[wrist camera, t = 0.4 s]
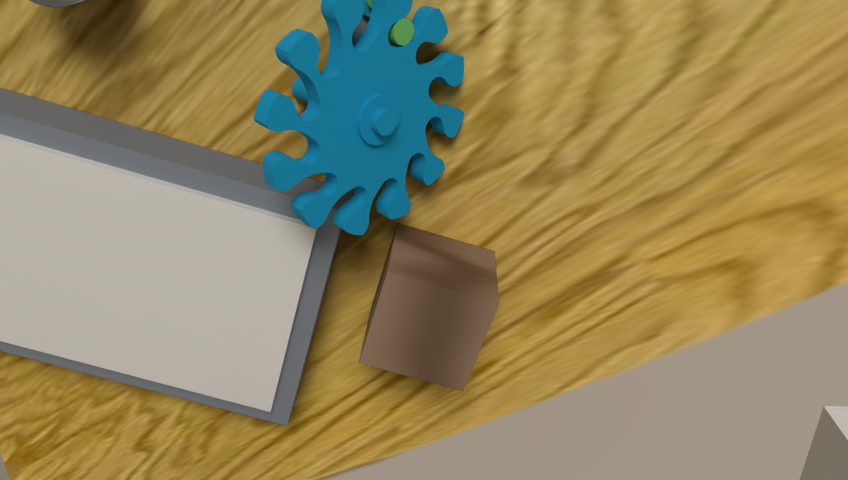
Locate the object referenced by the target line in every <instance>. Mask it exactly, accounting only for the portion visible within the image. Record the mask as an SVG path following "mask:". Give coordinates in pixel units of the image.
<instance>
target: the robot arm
mask: <svg viewBox="0 0 848 480" xmlns="http://www.w3.org/2000/svg"><path fill="white" fill-rule="evenodd" d="M0 480H10V479H9V477H8V474H7V471H6V468H5V465H4V463H3V460H2V457H1V454H0ZM800 480H848V407H835V406H824V407H823V410H822V413H821V416H820V419H819V423H818V425H817V428H816V431H815V435H814V438H813V441H812V444H811V447H810V450H809V453H808V456H807V459H806V462H805V465H804V468H803V471H802V475H801V478H800Z"/></svg>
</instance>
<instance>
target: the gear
mask: <svg viewBox="0 0 848 480" xmlns="http://www.w3.org/2000/svg"><path fill="white" fill-rule="evenodd" d="M411 6H412V0H322V3H321V11H322V14H323V17H324V18H325V20H326V23H327V26H328V29H329V35H330V50H329V57H328V62H327V65H326V68H325V69H324V70H323V71H322V72H321V73H319V72H318V58H319V51H320V48H319V43H318V40H317V38H316V37H315V36H314V35H313V34H312V33H309V32H306V31H303V30H300V29H296V30H293V31H291V32H290V33H289V34H287V35H286V36H285V37H284V38H283V39H282V40H281V41H280V42H279V43H278V44H277V45H276V47H275V52H276V55H277V57H278V59H279V60H280V61H281V62H282V63H284V64H286V65H288V66H290V67H291V68H292V69H293V70H295V72H296V73H297V74H298V75H299V76H300V77H299V78H298V79H296V81H295V82H294V84H293V94H294V96H295V97H296V98H298V99H300V100H302V101H305V102H307V103H308V106H307V108H306V110H305V111H304V112H303V113H302V114H301V115H299V116H298V114H297V110H296V107H295V105H294V103H293V101H292V100H291V99H290V98H289V97H287V96H285V95H282V94H280V93H278V92H276V91H273V90H265V92H264V93H263V94H262V96H261V98H260V100H259V102H258V105H257V108H256V111H255V115H254V120H255V121H256V122H257V123H259V124H260V125H262V126H264V127H266V128H268V129H270V130H272V131H275V132H280V131H285V130H296V131H299V132H300V133H302V134H303V135H304V136H305V137H306V138H307V140H308V149H307V152H306V153H305V155H304V156H303V157H301V158H300V159H297V160H295V159H293V158H291V157H289V156H287V155H285V154H283V153H282V152H279V151H272V152H269V153H267V154H266V155H265V156H264V159H263V173H264V178H265V183H266V184H268V185H269V186H271V187H273V188H274V189H276V190H278V191H287V190H289V189H291V188H292V187H293V186H294V185H296V184H297V183H298V182H299V181H301V180H302V179H304V178H306V177H308V176H310V175H313V174H318V173H326V180H325V183H324V185H323V186H322V187H321V188H320V189H319V190H316V191H305V192H301V193H299V194H297V195H296V196H295V197H294V198H293V200H292V201H291V208H292V210H293V212H294V213H295V214H296V216H297V217H298V218H299V219H300V220H301V221H302V222H304V223H305V224H307V225H308V226H310V227H312V228H313V229H316V228H318V227H320V226H321V225H322V224H323V223H324V222H325V220H326V219H327V216H328V214H329V212H330V210H331V209H332V207H333V205H334V204H335V203H336V202H337V200H338V199H339V198H340V197H341V196H343V195H344V194H345V193H347V192H348V191H350V190H351V189H353V188H354V187H355V192H354V195H353V196H352V198H351V199H350V200H349V201H348V202H346V203H344V204H343V205H341V206H340V207H339V208H338V209H337V210H336V212H335V214H334V216H333V223H334V224H335V225H336V226H338V227H340V228H341V229H343V230H345V231H346V232H348V233H350V234H354V235H363V234H364V233H365V231H366V230H367V228H368V225H369V214H370V208H371V205H372V202H373V199H374V197H375V195H376V194H377V192H378V190H379V189H380V187H381V186H382V184H383V183H384V182H385V181H386V185H385V187H384V189H383V191H382V192H381V194H380V195H379V197H378V199H377V202H376V210H377V212H378V213H379V214H381V215H383V216H385V217H387V218H388V219H396V218H399V217H402V216H404V215H406V214H407V213H409V210H410V207H411V202H410V199H409V197H408V195H407V191H406V185H405V180H406V172H407V167H408V163H409V160H410V159H411V157H412V156H413V161H412V165H411V174H412V177H413V178H414V179H416V180H418V181H420V182H422V183H424V184H426V185H428V186H429V185H430V184H432V183H433V182H434V181H435V180H436V179H437V178H438V177H439V176H440V175H441V174H442V172H443V171H444V170H445V166H444V162H443V161H442V160H441V159H440V158H437V157H436V156H435V155H434V154H433V153H432V152H431V150H430V148H429V146H428V143H427V139H426V134H425V129H426V125H427V123H428V121H429V120H430V121H431V126H432V128H433V130H434V131H435V132H437V133H440V134H442V135H445V136H447V137H451V138H452V137H454V136H455V135H456V134H457V132H458V130H459V128H460V125H461V123H462V120H463V117H464V113H463V111H462V110H460V109H458V108H455V107H452V106H450V105H447V104H442V105H436V104H435V103H434V102H433V101H432V100H431V98H430V97H429V92H428V91H429V86H430V83H431V82H432V80H433V79H435V80H437V81H438V82H441V83H444V84H447V85H450V86H457V85H459V84H460V83H462V79H463V73H464V57H462V56H460V55H457V54H453V53H450V52H442V53H440V54H439V55H438V56H437V57H435V58H434V59H433V60H431V61H429V62H427V63H424V64H417V62H416V51H417V49H418V47H419V46H420V45H421V44H422V43H423V42H433V43H438V42H440V41H442V40H443V39H444V38H445V36H446V35H447V33H448V30H447V25H446V21H445V19H444V17H443V15H442V13H441V11H440V9H436V8H432V7H428V6H423V7H421V8H419V9H418V10H417V11H416V13H415V15H414V17H413V19H412V21H411V20H409V19H408V18H404V17H406V16H407V14H408V13H409V11H410V9H411Z"/></svg>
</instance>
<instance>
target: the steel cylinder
mask: <svg viewBox="0 0 848 480" xmlns="http://www.w3.org/2000/svg"><path fill="white" fill-rule="evenodd" d="M30 1H32V2H34V3H37V4H39V5H43V6H47V7H64V6H69V5H72V4H76V3H79V2H83V1H86V0H30Z"/></svg>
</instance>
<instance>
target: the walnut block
mask: <svg viewBox="0 0 848 480" xmlns="http://www.w3.org/2000/svg"><path fill="white" fill-rule="evenodd" d="M498 304H499V298H498V286H497V274H496V262H495V251H492V250H489V249H486V248H482V247H479V246H475V245H472V244H468V243H465V242H461V241H458V240H455V239H451V238H448V237H444V236H441V235H437V234H434V233H430V232H427V231H423V230H420V229H417V228H413V227H410V226H406V225H403V224H399V223H397V226H396V229H395V232H394V236H393V239H392V242H391V245H390V249H389V252H388V255H387V258H386V261H385V265H384V268H383V271H382V274H381V278H380V281H379V284H378V287H377V291H376V294H375V297H374V300H373V303H372V307H371V311H370V316H369V320H368V325H367V329H366V333H365V338H364V342H363V347H362V351H361V356H360V360H359V363H361V364H365V365H369V366H372V367H376V368H380V369H383V370H387V371H391V372H394V373H398V374H402V375H405V376H409V377H413V378H416V379H420V380H424V381H427V382H431V383H435V384H439V385H442V386H446V387H450V388H453V389H457V390H461V391H463V390H464V388H465V385H466V383H467V381H468V378H469V376H470V373H471V371H472V368H473V366H474V363H475V361H476V358H477V356H478V354H479V351H480V349H481V346H482V344H483V341H484V339H485V336H486V334H487V331H488V329H489V327H490V324H491V322H492V319H493V317H494V314H495V312H496V309H497V307H498Z"/></svg>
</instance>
